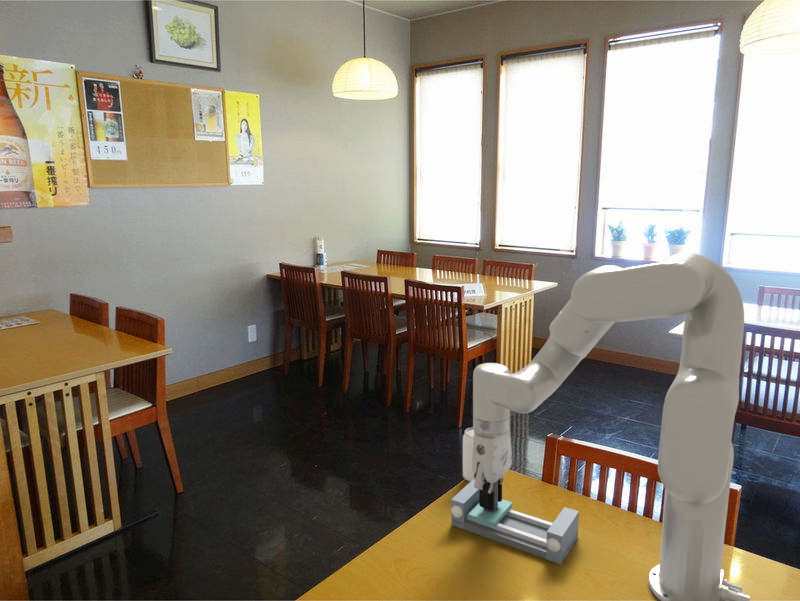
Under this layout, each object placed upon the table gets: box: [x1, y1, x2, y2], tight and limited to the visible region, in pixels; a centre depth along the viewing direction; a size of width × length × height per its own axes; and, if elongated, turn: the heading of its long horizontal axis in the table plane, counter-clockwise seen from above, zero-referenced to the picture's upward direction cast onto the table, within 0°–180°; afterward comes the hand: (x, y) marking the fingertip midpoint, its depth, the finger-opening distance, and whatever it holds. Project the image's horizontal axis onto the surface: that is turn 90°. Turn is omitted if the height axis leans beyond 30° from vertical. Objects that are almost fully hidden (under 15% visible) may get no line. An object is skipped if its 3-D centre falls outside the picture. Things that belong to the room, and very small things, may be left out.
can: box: [462, 426, 485, 483], centre depth 140 cm, size 6×6×12 cm
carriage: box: [468, 481, 513, 527], centre depth 120 cm, size 6×9×8 cm, turn 145°
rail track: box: [450, 479, 580, 566], centre depth 118 cm, size 24×10×6 cm, turn 55°
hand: (490, 503), depth 121 cm, fingers closed on carriage, 3 cm apart
